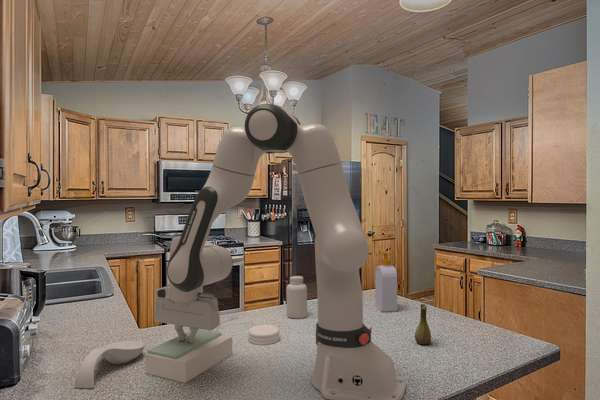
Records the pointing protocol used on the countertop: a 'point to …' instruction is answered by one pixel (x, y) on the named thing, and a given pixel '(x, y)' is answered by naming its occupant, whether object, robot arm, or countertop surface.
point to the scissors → (225, 321)
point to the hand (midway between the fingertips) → (186, 341)
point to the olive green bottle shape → (423, 328)
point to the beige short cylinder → (263, 334)
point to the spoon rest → (111, 353)
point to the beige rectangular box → (190, 361)
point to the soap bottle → (386, 286)
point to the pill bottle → (296, 298)
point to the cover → (183, 345)
